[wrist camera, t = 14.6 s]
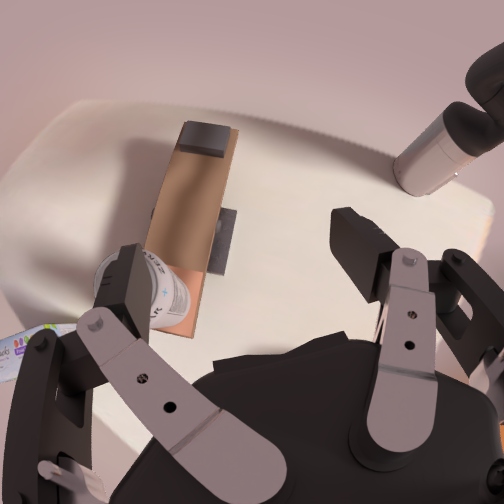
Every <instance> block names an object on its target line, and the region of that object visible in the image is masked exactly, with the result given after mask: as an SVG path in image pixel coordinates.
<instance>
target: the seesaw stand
mask: <svg viewBox="0 0 504 504" xmlns="http://www.w3.org/2000/svg"><path fill="white" fill-rule="evenodd" d="M236 214H237V211H236V210H231V209H226V208H220V212H219V217H218V220H220V221H221V228H220V232H219V233H216V232H215V234H214V239H213V243H212V248H211V253H210V257H209V262H208V267H207V272H208V273H212V274H217V275H223V276H224V273H225V268H226V263H227V258H228V253H229V248H230V243H231V239H232V234H233V229H234V224H235V219H236Z"/></svg>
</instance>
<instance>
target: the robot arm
mask: <svg viewBox="0 0 504 504" xmlns="http://www.w3.org/2000/svg"><path fill="white" fill-rule="evenodd" d="M465 84H466V88H467V90H468V92H469V93H470V95H471V96H472V97H473V98H474V100H475V101H476V102H477V103H478V104H479V105H480V106H481V107H482V108H483V109H484V110H485V111H486V112H487V113H486V112H482V111H480V110H477V109H475V108H473V107H471V106H470V105H468V104H466V103H463V102H453V103H451V104H450V105H449V106H448V107H447V108H446V109H445V110H444V111H443V112H442V113H441V114H440V115H439V116H438V117H437V118H436V120H434V122H432V123H431V125H430V126H429V127H428V128H427V129H426V130H425V131H424V132H423V133H422V134H421V135H420V136H419V137H418V138H417V139H416V140H415V141H414V142H413V143H412V144H411V145H410V146H409V147H408V148H407V149H406V150H405V151H404V152H403V153H402V154H400V155H399V156H398V157H397V158H396V160H395V162H394V166H393V169H394V174H395V177H396V179H397V181H398V183H399V184H400V186H401V187H402V188H403V189H404V190H405V191H406V192H408V193H409V194H411V195H413V196H423V195H425V194H429V195H430V194H432V193H433V192H435V191H436V190H438V189H439V188H441V187H442V186H444V185H445V184H447V183H448V182H450V181H451V180H452V179H454V178H455V177H457V175H458V171H460V170H461V169H462V168H464V167H465V166H466V165H468V164H469V163H471V162H472V161H473V160H475V159H476V158H478V157H479V156H480V155H482V154H483V153H485V152H488V151H490V150H492V149H493V148H495V147H496V146H497V145H499V144H501V143H502V142H504V42H503V43H501V44H499V45H498V46H496V47H494V48H493V49H491V50H489V51H488V52H486V53H485V54H483V55H482V56H481V57H479V58H478V59H477V60H476V61H475V62H474V63H473V64H472V66H471V67H470V68H469V70H468V72H467V75H466V79H465ZM330 249H331V252H332V254H333V255H334V257H335V258H336V260H337V261H338V262H339V264H340V265H341V266H342V268H343V269H344V270H345V272H346V273H347V274H348V276H349V277H350V279H351V280H352V281H353V283H354V284H355V286H356V287H357V288H358V290H359V291H360V293H361V294H362V295H363V297H364V298H365V300H366V301H367V303H368V304H369V303H372V302H375V301H380V303H381V304H380V307H379V312H378V317H377V322H376V327H375V332H374V337H373V342H371V341H366V340H358V339H348V337H347V336H346V334H345V332H344V331H341V332H337V333H334V334H330V335H327V336H323V337H319V338H316V339H313V340H311V341H309V342H307V343H305V344H303V345H301V346H299V347H297V348H295V349H293V350H291V351H289V352H287V353H285V354H279V355H243V356H238V357H233V358H228V359H222V360H217V361H213V368H214V371H213V372H211V373H208V374H206V375H205V376H203V377H201V378H200V379H198V380H197V381H195V382H194V383H193V384H192V385H191V384H189V383H188V382H187V381H186V380H185V379H184V378H183V377H182V376H180V375H179V374H178V373H177V372H176V371H175V370H174V369H173V368H172V367H171V366H169V365H168V364H167V363H166V362H165V361H164V360H163V359H162V358H161V357H160V356H159V355H158V354H157V353H156V352H155V351H154V350H153V349H152V348H151V347H150V346H149V345H148V344H149V327H150V313H151V301H152V290H153V285H152V278H151V274H150V271H149V268H148V266H147V263H146V260H145V257H144V254H143V251H142V248H141V245H140V244H139V243H136V244H131V245H126V246H122V247H121V249H120V252H119V255H118V258H117V260H113V261H111V262H110V264H109V265H108V266H107V267H106V268H105V270H104V273H103V276H102V279H101V283H100V287H99V289H98V292H97V296H96V299H95V302H94V306H93V309H91V310H89V311H87V312H86V313H84V314H83V315H82V316H81V317H80V319H79V320H78V322H77V325H76V330H74V331H72V332H69V333H67V334H65V335H62V336H60V337H58V335H57V334H56V332H55V331H54V330H52V329H50V328H45V329H41V330H39V331H37V332H36V333H35V334H34V335H32V337H31V338H30V339H29V341H28V342H27V345H26V348H25V352H24V355H23V358H22V362H21V366H20V369H19V373H18V377H17V381H16V385H15V390H14V394H13V399H12V404H11V409H10V414H9V420H8V427H7V433H6V441H5V450H4V461H3V478H2V501H3V504H504V453H503V449H502V444H501V437H500V426H499V425H504V291H503V290H502V289H501V288H500V287H499V286H498V285H497V284H496V283H495V282H494V280H492V279H491V277H490V276H489V275H488V274H487V273H486V272H485V271H484V270H483V269H482V268H481V267H480V266H479V265H478V264H477V263H476V262H475V261H474V260H473V259H472V258H471V257H470V256H469V255H468V254H466V253H465V252H463V251H461V250H458V249H447V250H445V251H444V253H443V256H442V259H441V260H427V259H426V257H425V256H424V255H423V254H422V253H420V252H419V251H417V250H414V249H411V248H400V247H399V246H398V245H397V244H396V243H395V242H394V241H393V240H392V239H391V238H390V237H389V236H388V235H387V234H386V233H385V234H384V232H383V231H382V230H381V229H380V228H379V227H378V226H377V225H376V224H375V223H374V222H373V221H371V220H369V219H367V218H365V217H363V216H360V215H359V214H357V213H356V212H355V211H354V210H353V209H352V208H351V207H344V208H337V209H333V210H332V212H331V224H330ZM461 295H463V297H464V298H465V299H466V300H467V301H468V303H469V304H470V305H471V307H472V310H473V317H472V319H471V321H470V319H469V318H468V317H467V316H466V314H465V313H464V312H463V310H462V309H461V308H460V307H459V305H458V302H459V299H460V297H461ZM436 328H437V330H438V331H439V333H440V334H441V336H442V337H443V339H444V340H445V342H446V343H447V345H448V346H449V348H450V349H451V351H452V352H453V354H454V355H455V357H456V358H457V360H458V362H459V363H460V365H461V366H462V368H463V370H464V371H465V373H466V374H467V376H468V378H469V384H470V386H469V385H467V384H465V383H462V382H460V381H458V380H456V379H454V378H451V377H449V376H447V375H445V374H442V373H440V372H438V371H436V370H435V369H434V368H435V348H436ZM108 382H110V383H111V385H112V386H113V387H114V389H115V390H116V391H117V393H118V394H119V395H120V397H121V398H122V399H123V400H124V402H125V403H126V404H127V405H128V407H129V408H130V409H131V410H132V412H133V413H134V414H135V415H136V416H137V418H138V419H139V420H140V421H141V422H142V423H143V425H144V426H145V427H146V428H147V429H148V430H149V431H150V432H151V434H152V435H153V437H152V438H151V440H150V441H149V443H148V444H147V445H146V447H145V448H144V450H143V451H142V452H141V454H140V455H139V457H138V458H137V460H136V461H135V462H134V464H133V465H132V466H131V468H130V469H129V471H128V472H127V473H126V475H125V476H124V477H123V479H122V480H121V482H120V483H119V484H118V486H117V487H116V489H115V490H114V491H113V493H112V495H111V497H110V499H109V498H108V496H107V495H106V492H105V488H104V485H103V482H102V480H101V478H100V477H99V476H98V475H97V474H96V473H95V472H93V471H92V460H91V459H92V458H91V425H92V401H93V388H95V387H97V386H100V385H103V384H105V383H108ZM57 388H58V390H57ZM56 391H57V396H56Z"/></svg>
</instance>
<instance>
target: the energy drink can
mask: <svg viewBox="0 0 504 504" xmlns="http://www.w3.org/2000/svg"><path fill="white" fill-rule="evenodd" d="M142 251H143V254H144V257H145V260H146V263H147V266H148V268H149V271H150V274H151V278H152V285H153V290H152V301H151V313H150V327H149V329H153V328H163V327H171V326H174V325H176V324H178V323H180V322H181V321H182V320H183V319H184V318H185V317H186V316H187V314H188V312H189V309H190V304H191V298H190V293H189V290H188V288H187V286H186V285H185V284H184V282H183V281H182V280H181V279H180V278H179V277H178V276H177V275H176V274H175V273H174V272H173V271H172V270H171V269H170V268H169V267H168V266H167V265H166V264H165V263H164V262H163V261H162V260H161V259H160V258H159V257H157V256H156V255H155V254H154V253H152V252H150V251H148V250H145V249H142ZM119 252H120V251H118V252H116V253H113V254H111V255H110V256H108V257H107V258H106V259H105V260H104V261H103V262H102V263H101V264H100V266H99V267H98V269H97V271H96V274H95V277H94V284H93V287H94V295H95V299H96V296H97V292H98V289H99V287H100V283H101V279H102V276H103V273H104V270H105V268H106V267H107V266H108V265H109V264H110V262H111V261H113V260H117V258H118V255H119Z"/></svg>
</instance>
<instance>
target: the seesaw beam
mask: <svg viewBox="0 0 504 504" xmlns="http://www.w3.org/2000/svg"><path fill="white" fill-rule="evenodd" d="M238 132H239V130H236V129H230V127H228V126H222V125H216V124H209V123H202V122H195V121H187V122H184V124H183V127H182V130H181V132H180V135H179V138H178V140H177V143H176V146H175V149H174V152H173V154H172V157H171V160H170V163H169V166H168V169H167V172H166V175H165V178H164V181H163V184H162V187H161V190H160V194H159V197H158V200H157V204H156V207H155V208H154V209H153V211H152V215H151V219H152V221H151V224H150V228H149V231H148V235H147V239H146V243H145V246H144V249H145V250H148V251H150V252H152V253H154V254H155V255H156V256H157V257H159V258H160V259H161V260H162V261H163V262H164V263H165V264H166V265H167V266H168V267H169V268H170V269H171V270H172V271H173V272H174V273H175V274H176V275H177V276H178V277H179V278H180V279H181V280H182V281H183V282H184V284H185V285H186V286H187V288H188V290H189V293H190V298H191V304H190V309H189V312H188V314H187V316H186V317H185V318H184V319H183V320H182V321H181V322H180V323H178V324H176V325H174V326H171V327H163V328H153V329H152V330H156V331H160V332H165V333H169V334H173V335H177V336H182V337H186V338H191V339H193V338H194V332H195V327H196V322H197V316H198V311H199V306H200V301H201V296H202V291H203V286H204V281H205V276H206V272H207V267H208V262H209V257H210V253H211V248H212V243H213V239H214V234H215V232H216V233H219V232H220V228H221V221H220V220H218V217H219V212H220V208H221V204H222V199H223V195H224V191H225V187H226V183H227V178H228V174H229V170H230V166H231V162H232V158H233V154H234V150H235V146H236V143H237V139H238Z"/></svg>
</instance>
